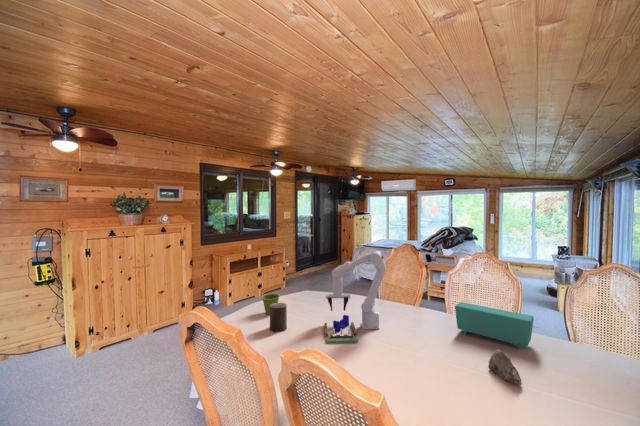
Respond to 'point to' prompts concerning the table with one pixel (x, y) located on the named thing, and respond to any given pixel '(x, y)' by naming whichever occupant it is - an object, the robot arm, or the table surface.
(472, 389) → the table surface
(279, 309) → the pillar candle
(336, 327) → the cable clip
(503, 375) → the mineral rock
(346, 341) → the header board
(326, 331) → the guide rails
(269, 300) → the plant pot
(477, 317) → the radio
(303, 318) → the table surface
